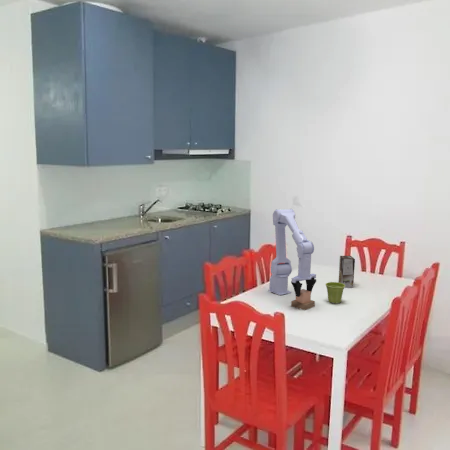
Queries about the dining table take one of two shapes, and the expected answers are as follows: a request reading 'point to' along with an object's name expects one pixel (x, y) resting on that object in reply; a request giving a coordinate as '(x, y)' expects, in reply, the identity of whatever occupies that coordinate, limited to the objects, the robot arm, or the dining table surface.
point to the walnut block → (303, 304)
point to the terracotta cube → (304, 296)
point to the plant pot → (335, 291)
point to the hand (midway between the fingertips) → (303, 294)
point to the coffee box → (346, 271)
